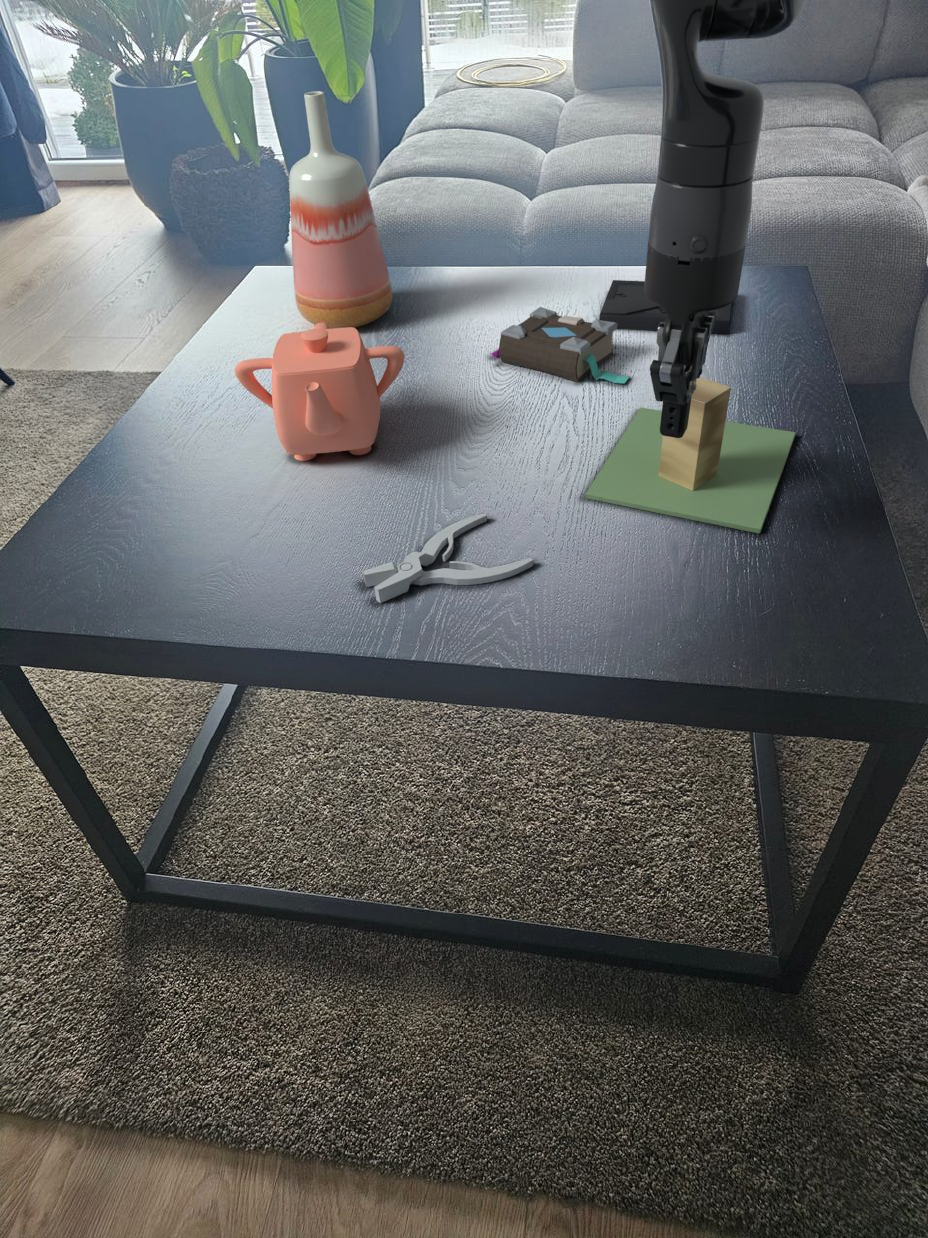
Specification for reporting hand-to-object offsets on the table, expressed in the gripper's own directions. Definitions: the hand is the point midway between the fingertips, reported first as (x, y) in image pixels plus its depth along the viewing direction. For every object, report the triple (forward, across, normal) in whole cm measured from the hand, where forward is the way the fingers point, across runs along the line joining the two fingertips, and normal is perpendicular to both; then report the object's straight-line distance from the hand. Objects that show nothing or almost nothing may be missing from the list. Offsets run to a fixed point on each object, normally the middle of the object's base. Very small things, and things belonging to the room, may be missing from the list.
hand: (672, 433), depth 79 cm
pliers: (+11, +14, -18) cm, 25 cm away
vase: (+11, -36, -59) cm, 70 cm away
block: (+10, -9, 0) cm, 14 cm away
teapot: (+11, -3, -41) cm, 42 cm away
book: (+11, -33, -22) cm, 41 cm away
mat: (+10, -12, 0) cm, 16 cm away
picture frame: (+11, -52, -14) cm, 55 cm away
